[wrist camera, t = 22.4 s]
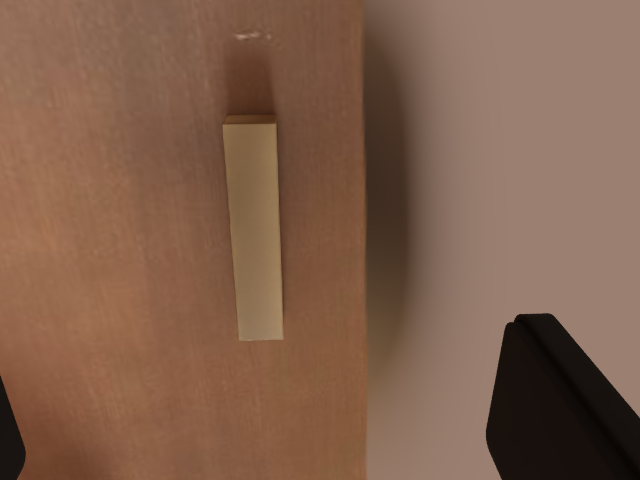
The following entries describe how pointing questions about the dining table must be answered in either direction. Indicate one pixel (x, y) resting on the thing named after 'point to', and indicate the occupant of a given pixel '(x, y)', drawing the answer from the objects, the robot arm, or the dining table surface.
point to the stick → (255, 224)
